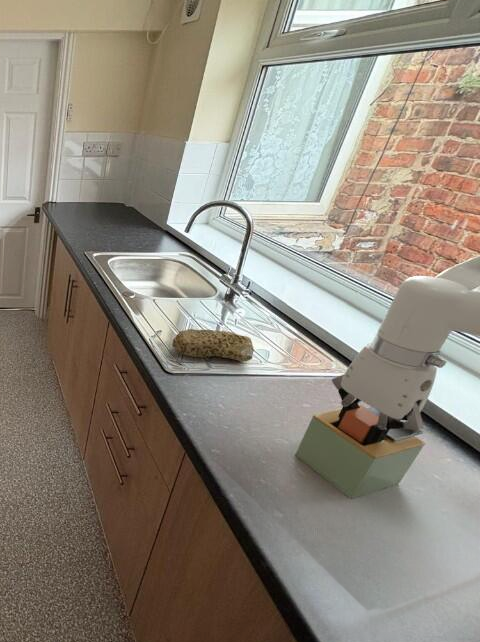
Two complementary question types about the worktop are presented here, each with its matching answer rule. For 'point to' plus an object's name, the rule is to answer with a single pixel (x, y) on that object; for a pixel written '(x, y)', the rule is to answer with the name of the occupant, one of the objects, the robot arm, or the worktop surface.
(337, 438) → the green open box
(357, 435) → the block
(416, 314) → the robot arm
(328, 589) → the worktop surface
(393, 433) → the slider
